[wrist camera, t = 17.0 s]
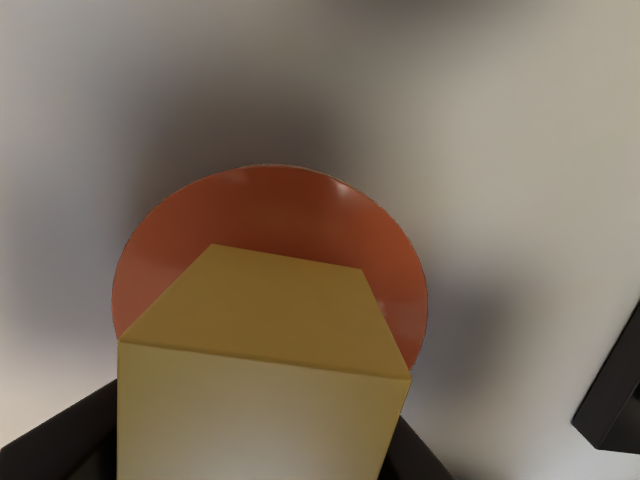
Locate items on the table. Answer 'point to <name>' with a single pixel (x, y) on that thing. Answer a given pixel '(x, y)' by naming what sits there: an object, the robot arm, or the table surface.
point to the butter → (259, 374)
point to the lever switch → (615, 398)
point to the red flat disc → (276, 240)
